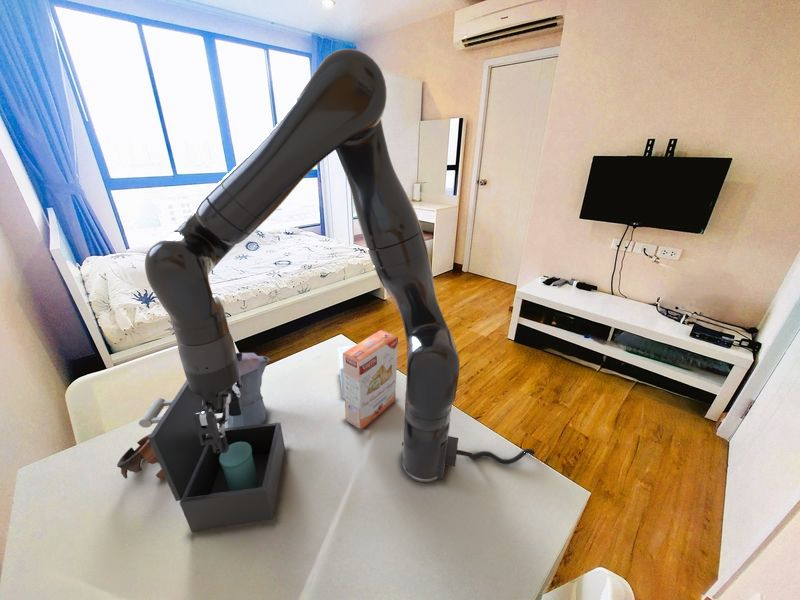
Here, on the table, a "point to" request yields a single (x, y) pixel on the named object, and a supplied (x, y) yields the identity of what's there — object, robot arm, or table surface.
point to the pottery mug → (138, 458)
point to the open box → (220, 507)
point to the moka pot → (250, 390)
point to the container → (239, 467)
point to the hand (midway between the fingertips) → (229, 431)
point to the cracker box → (370, 378)
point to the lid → (176, 437)
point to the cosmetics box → (340, 359)
